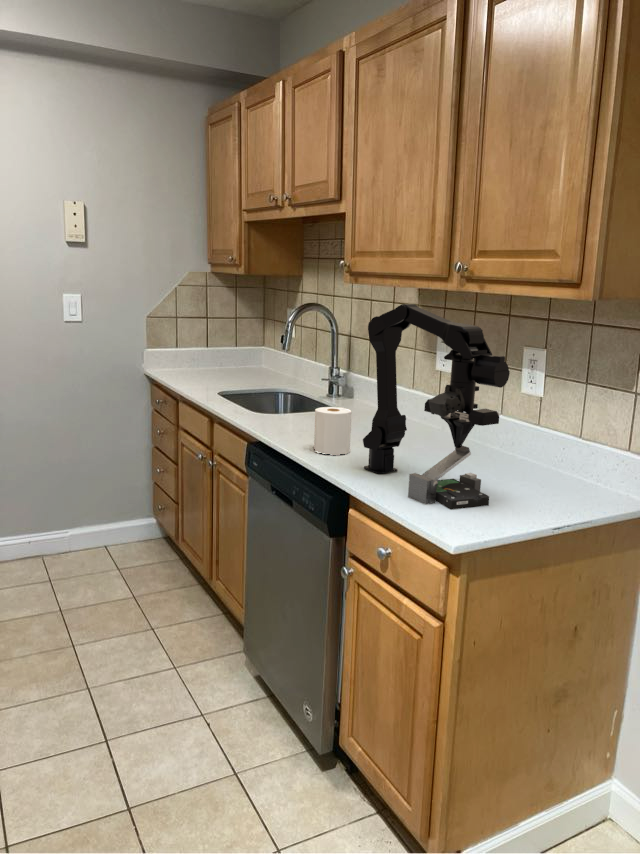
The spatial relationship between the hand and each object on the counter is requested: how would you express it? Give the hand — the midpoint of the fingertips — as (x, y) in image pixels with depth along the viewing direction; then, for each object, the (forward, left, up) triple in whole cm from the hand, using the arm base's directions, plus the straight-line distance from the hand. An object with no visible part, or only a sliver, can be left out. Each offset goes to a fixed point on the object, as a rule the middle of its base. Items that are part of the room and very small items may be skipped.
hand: (457, 447), depth 165 cm
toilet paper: (-46, -3, -11) cm, 47 cm away
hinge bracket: (0, -11, -11) cm, 15 cm away
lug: (0, +5, -11) cm, 12 cm away
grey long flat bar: (0, -3, -4) cm, 5 cm away
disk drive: (+2, -3, -12) cm, 12 cm away
